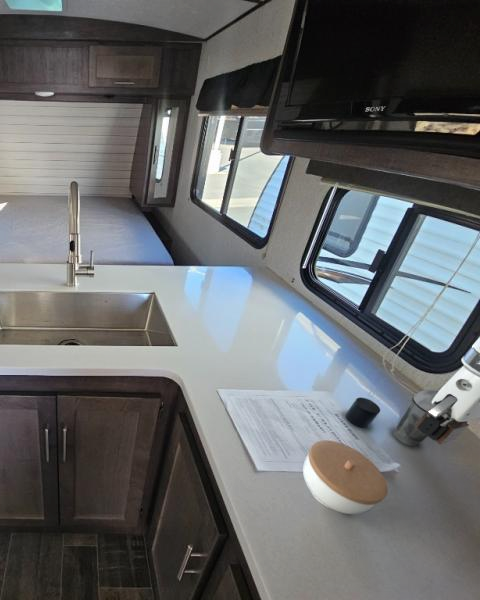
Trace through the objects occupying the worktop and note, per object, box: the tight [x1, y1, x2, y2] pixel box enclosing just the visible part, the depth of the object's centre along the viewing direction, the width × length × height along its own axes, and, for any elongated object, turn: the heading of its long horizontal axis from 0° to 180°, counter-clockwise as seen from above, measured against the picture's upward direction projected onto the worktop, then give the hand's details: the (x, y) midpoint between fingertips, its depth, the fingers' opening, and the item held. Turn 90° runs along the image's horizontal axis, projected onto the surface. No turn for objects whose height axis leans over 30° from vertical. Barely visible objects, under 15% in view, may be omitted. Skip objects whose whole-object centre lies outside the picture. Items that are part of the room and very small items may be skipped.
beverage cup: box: [393, 389, 451, 447], centre depth 76 cm, size 7×7×20 cm
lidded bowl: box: [302, 439, 389, 515], centre depth 65 cm, size 13×13×11 cm
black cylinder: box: [345, 396, 381, 429], centre depth 83 cm, size 5×5×6 cm
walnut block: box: [415, 411, 470, 445], centre depth 65 cm, size 4×4×4 cm
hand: (436, 430), depth 66 cm, fingers closed on walnut block, 4 cm apart
